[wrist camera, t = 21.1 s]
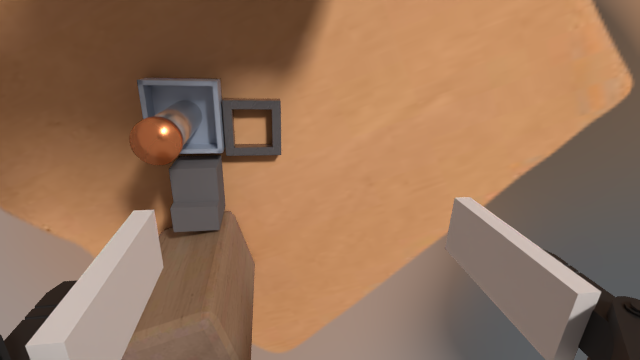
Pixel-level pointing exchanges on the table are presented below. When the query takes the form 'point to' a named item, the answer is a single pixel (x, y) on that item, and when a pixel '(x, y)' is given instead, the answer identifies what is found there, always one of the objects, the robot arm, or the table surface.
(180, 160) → the dark grey stepped piece
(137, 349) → the block
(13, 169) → the table surface
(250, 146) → the socket
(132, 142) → the pin
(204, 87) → the tray
